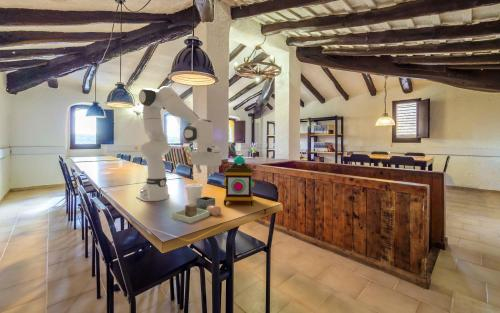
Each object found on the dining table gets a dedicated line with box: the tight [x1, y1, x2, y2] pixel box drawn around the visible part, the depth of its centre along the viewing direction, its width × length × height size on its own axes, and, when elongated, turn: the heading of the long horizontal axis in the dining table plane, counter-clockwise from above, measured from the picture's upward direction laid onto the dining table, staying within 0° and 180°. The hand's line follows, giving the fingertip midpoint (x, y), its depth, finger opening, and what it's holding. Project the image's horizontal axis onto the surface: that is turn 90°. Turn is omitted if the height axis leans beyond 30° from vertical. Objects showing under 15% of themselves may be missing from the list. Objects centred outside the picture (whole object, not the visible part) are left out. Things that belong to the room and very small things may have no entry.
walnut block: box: [184, 203, 197, 218], centre depth 121 cm, size 4×4×6 cm
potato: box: [206, 205, 222, 217], centre depth 126 cm, size 6×5×5 cm
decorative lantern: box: [223, 155, 256, 207], centre depth 150 cm, size 20×20×30 cm
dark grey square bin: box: [197, 196, 216, 210], centre depth 133 cm, size 7×7×7 cm
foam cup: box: [185, 183, 203, 205], centre depth 140 cm, size 10×9×13 cm
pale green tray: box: [171, 208, 211, 224], centre depth 121 cm, size 13×13×3 cm
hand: (205, 173), depth 132 cm, fingers open, 8 cm apart
